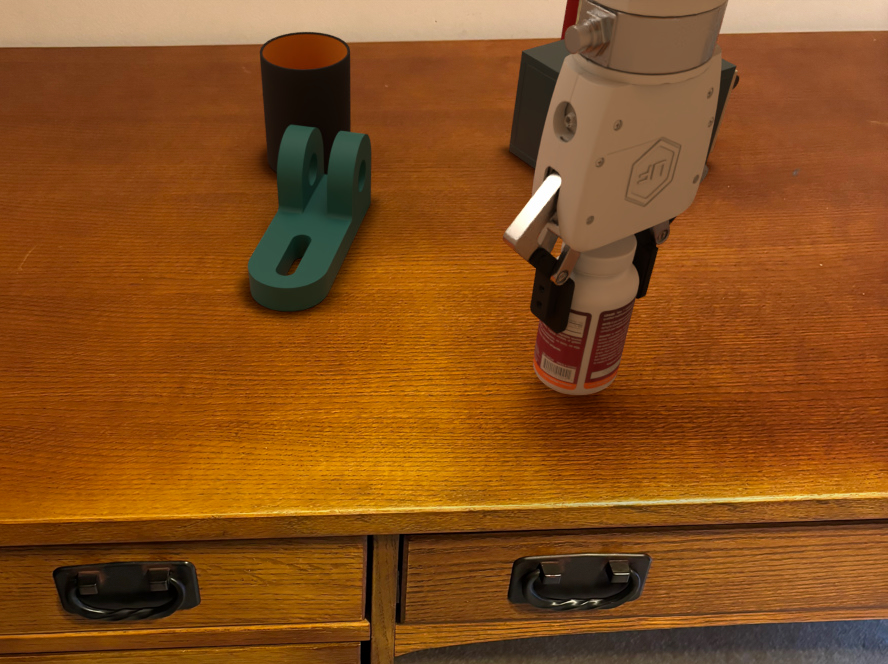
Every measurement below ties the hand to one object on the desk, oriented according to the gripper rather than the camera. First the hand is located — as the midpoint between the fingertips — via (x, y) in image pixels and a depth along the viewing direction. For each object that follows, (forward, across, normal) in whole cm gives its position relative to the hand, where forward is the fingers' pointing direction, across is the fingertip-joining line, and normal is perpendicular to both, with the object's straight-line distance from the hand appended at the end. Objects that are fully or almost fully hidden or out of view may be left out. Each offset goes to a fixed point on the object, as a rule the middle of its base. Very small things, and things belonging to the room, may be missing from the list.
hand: (587, 302), depth 63 cm
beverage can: (+9, +34, +39) cm, 53 cm away
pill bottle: (+6, 0, 0) cm, 6 cm away
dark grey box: (+8, +25, +25) cm, 37 cm away
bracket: (+8, -8, +26) cm, 29 cm away
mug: (+8, 0, +42) cm, 43 cm away
